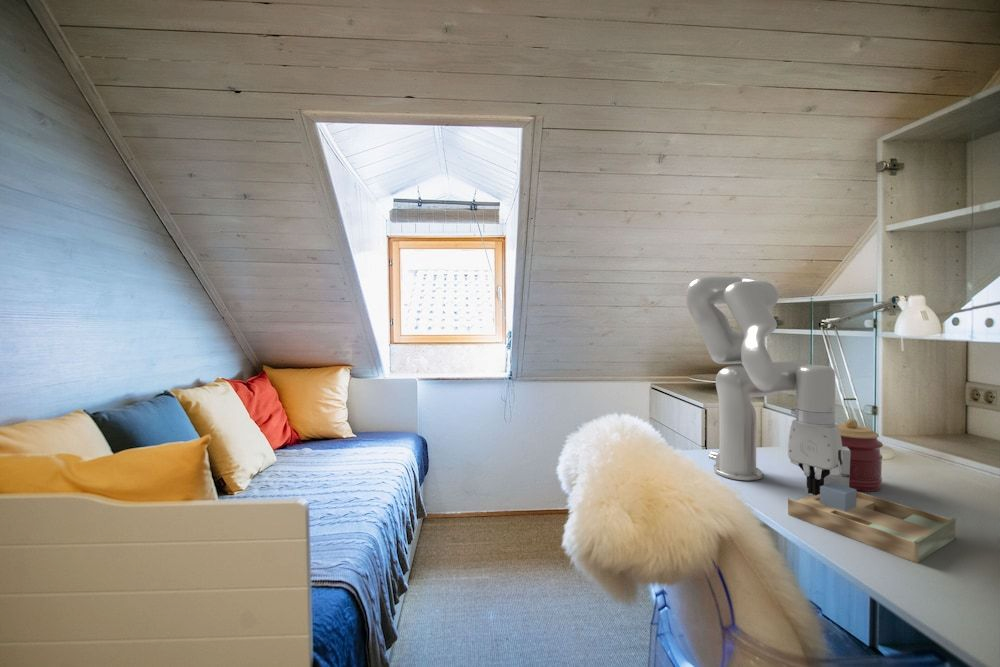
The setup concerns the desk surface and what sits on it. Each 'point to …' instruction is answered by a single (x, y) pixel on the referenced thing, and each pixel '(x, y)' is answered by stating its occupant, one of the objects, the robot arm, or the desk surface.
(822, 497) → the block
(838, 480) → the skincare box
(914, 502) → the desk surface
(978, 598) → the desk surface
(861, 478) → the canister
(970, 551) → the desk surface
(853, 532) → the box
